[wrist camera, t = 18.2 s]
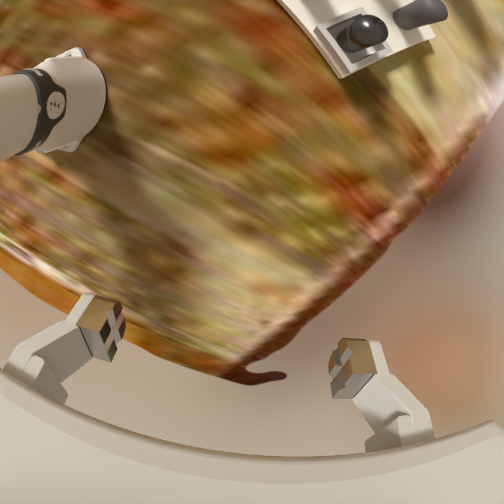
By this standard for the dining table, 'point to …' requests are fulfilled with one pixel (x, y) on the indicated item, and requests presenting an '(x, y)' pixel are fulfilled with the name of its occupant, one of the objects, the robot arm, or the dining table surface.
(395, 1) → the white board with pegs
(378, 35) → the dark rounded cylinder
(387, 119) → the dining table surface
